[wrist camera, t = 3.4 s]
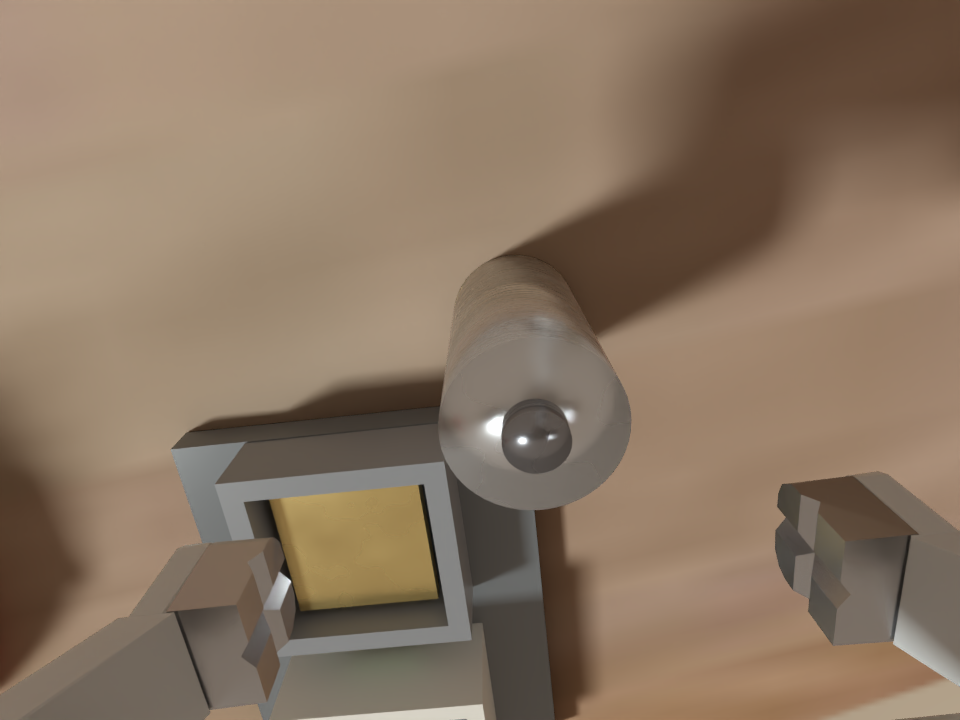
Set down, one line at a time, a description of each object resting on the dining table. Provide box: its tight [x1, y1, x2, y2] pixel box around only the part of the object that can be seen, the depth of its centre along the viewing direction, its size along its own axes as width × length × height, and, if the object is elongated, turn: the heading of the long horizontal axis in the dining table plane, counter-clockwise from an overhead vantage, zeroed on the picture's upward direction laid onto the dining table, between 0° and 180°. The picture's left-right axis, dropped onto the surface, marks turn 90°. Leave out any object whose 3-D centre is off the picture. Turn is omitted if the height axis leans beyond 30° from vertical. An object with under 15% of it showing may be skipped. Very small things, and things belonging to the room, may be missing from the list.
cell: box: [438, 255, 631, 510], centre depth 16 cm, size 4×4×9 cm
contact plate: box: [269, 484, 439, 611], centre depth 20 cm, size 5×5×1 cm
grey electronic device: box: [171, 406, 555, 720], centre depth 22 cm, size 12×16×5 cm
